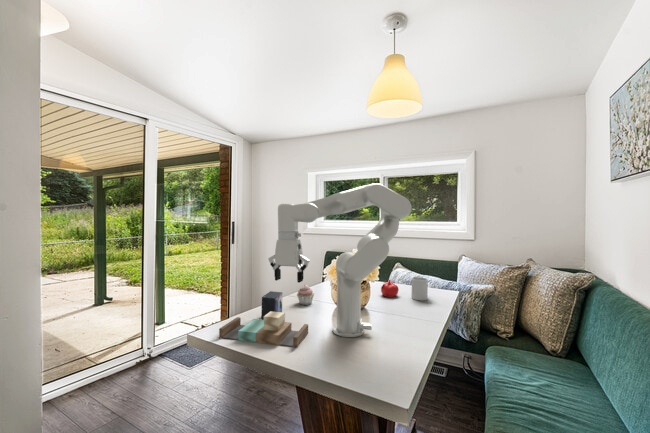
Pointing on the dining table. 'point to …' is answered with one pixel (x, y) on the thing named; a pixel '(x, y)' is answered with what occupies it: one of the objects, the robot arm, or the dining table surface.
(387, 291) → the pomegranate
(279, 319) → the beech block
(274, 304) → the small box
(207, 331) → the dining table surface
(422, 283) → the mug
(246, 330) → the board
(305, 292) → the cupcake
